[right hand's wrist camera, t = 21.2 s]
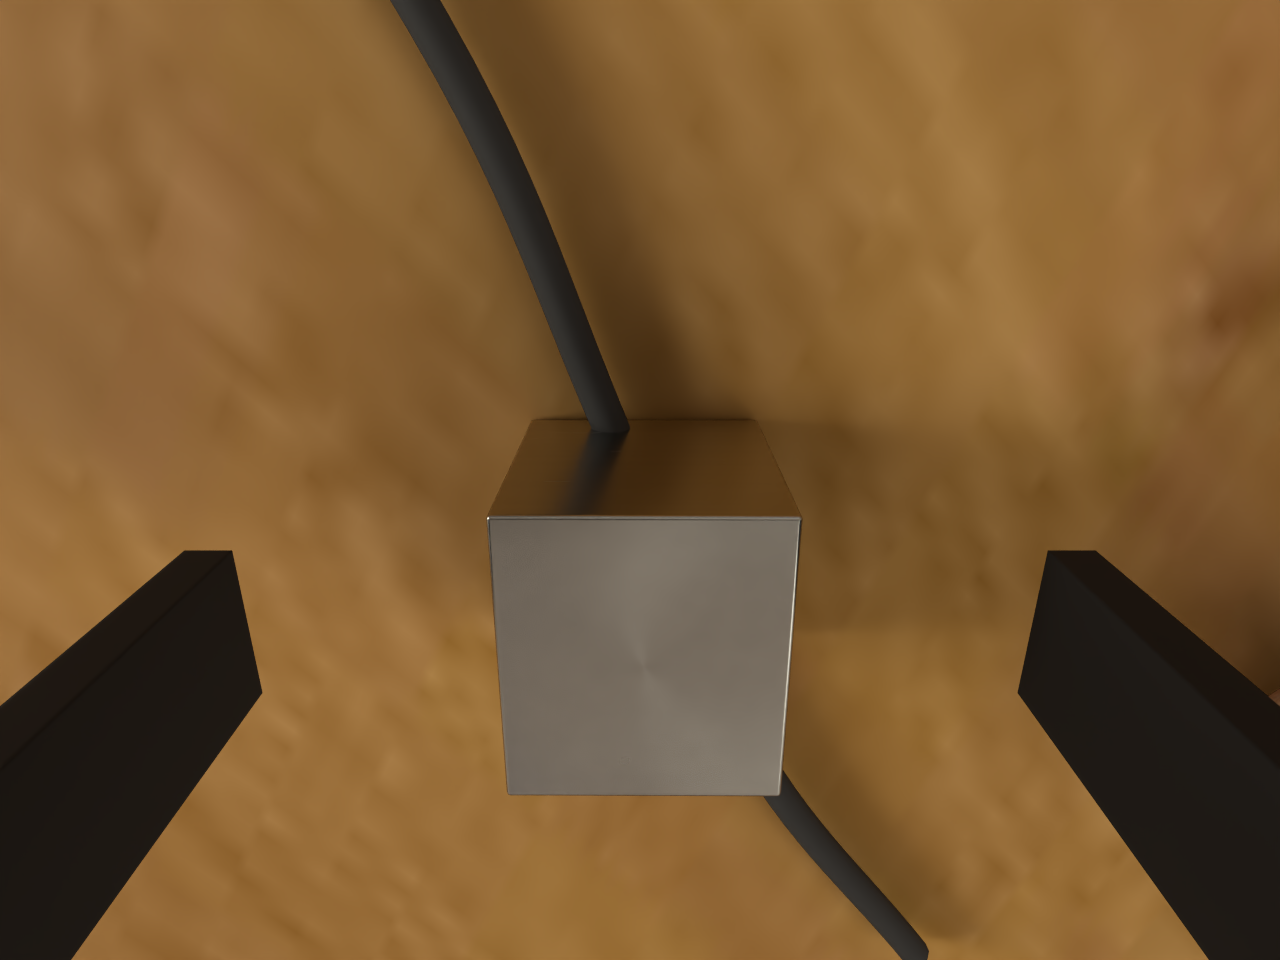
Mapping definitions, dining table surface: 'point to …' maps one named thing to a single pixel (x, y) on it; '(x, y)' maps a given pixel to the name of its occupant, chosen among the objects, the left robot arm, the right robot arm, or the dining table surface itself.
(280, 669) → the dining table surface
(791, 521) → the block
